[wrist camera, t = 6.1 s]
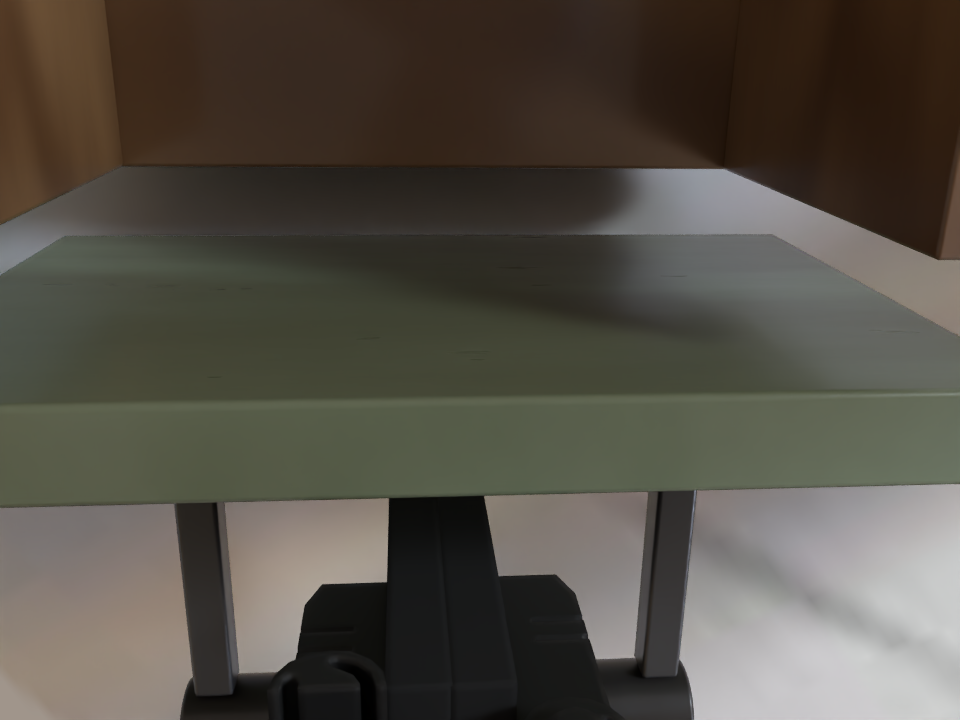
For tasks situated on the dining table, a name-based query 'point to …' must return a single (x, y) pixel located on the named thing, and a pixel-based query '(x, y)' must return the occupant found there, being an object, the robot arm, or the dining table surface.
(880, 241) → the dining table surface
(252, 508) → the dining table surface
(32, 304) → the drawer
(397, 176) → the dining table surface
